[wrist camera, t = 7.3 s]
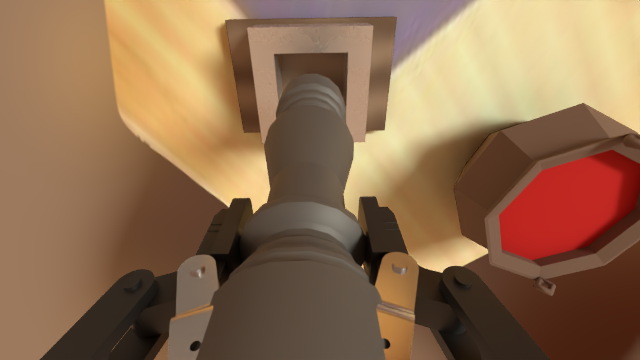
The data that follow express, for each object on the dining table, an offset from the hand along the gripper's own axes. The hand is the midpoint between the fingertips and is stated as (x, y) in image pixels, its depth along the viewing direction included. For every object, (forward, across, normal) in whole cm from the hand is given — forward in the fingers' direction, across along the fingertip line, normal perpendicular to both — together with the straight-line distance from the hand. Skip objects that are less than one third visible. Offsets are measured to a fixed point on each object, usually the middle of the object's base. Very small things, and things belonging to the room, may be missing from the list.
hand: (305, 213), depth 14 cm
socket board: (+29, 0, 0) cm, 29 cm away
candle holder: (+17, 0, 0) cm, 17 cm away
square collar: (+28, 0, 0) cm, 28 cm away
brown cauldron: (+29, -31, +14) cm, 45 cm away
